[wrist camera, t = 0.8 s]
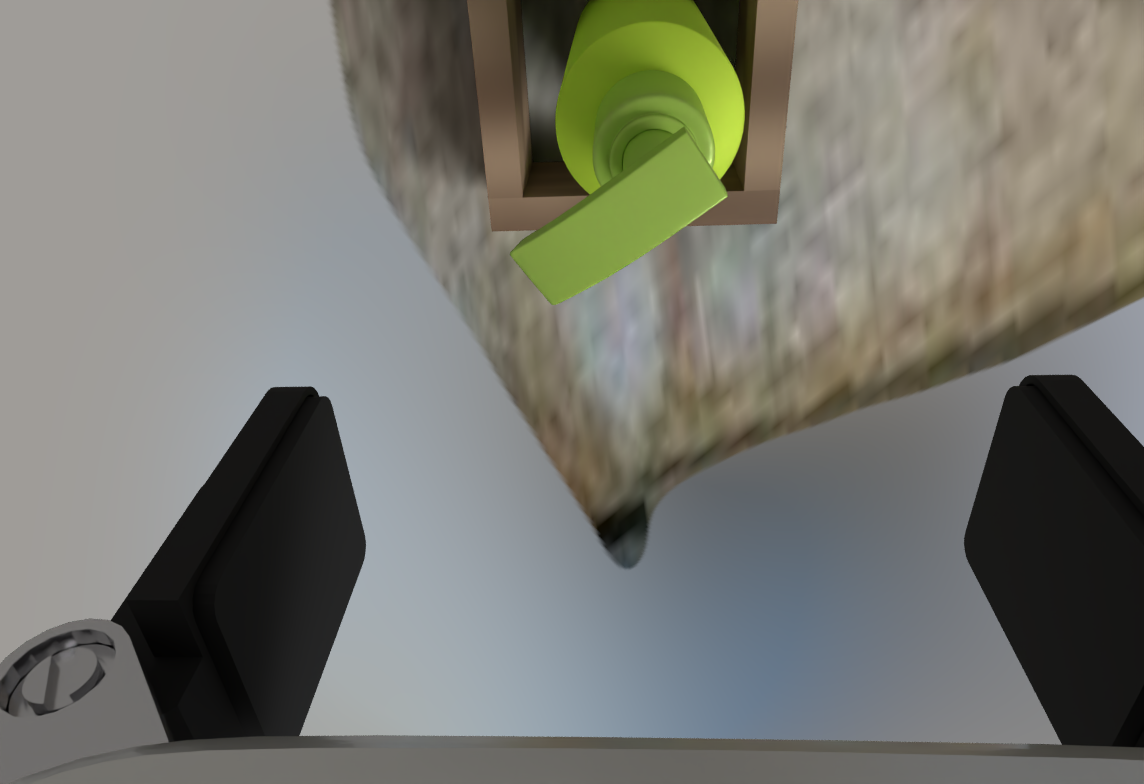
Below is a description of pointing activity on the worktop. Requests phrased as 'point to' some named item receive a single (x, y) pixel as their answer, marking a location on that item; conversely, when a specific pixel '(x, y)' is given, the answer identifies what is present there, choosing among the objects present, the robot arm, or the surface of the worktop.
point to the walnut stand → (548, 188)
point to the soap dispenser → (635, 139)
